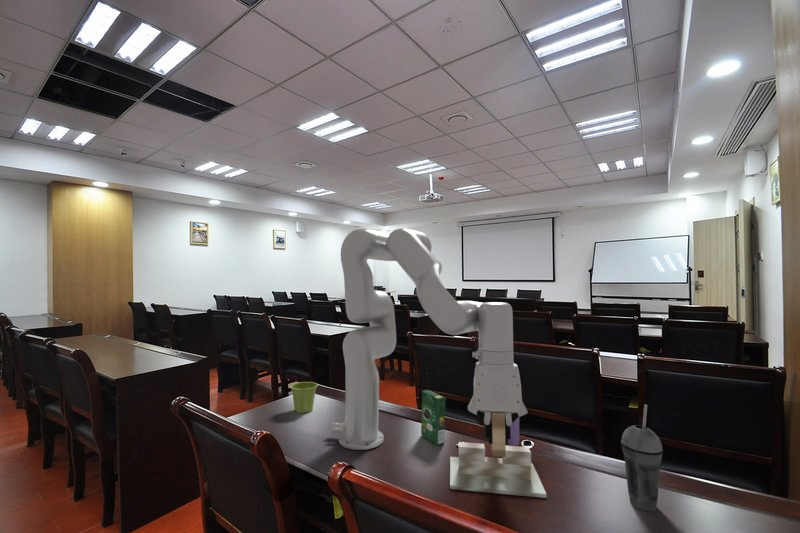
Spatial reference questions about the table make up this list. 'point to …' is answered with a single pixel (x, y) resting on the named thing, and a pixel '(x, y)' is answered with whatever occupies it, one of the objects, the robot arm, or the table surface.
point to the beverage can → (514, 433)
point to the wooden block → (498, 434)
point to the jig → (495, 471)
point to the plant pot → (303, 396)
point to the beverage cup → (642, 464)
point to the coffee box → (433, 417)
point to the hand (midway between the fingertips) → (497, 441)
